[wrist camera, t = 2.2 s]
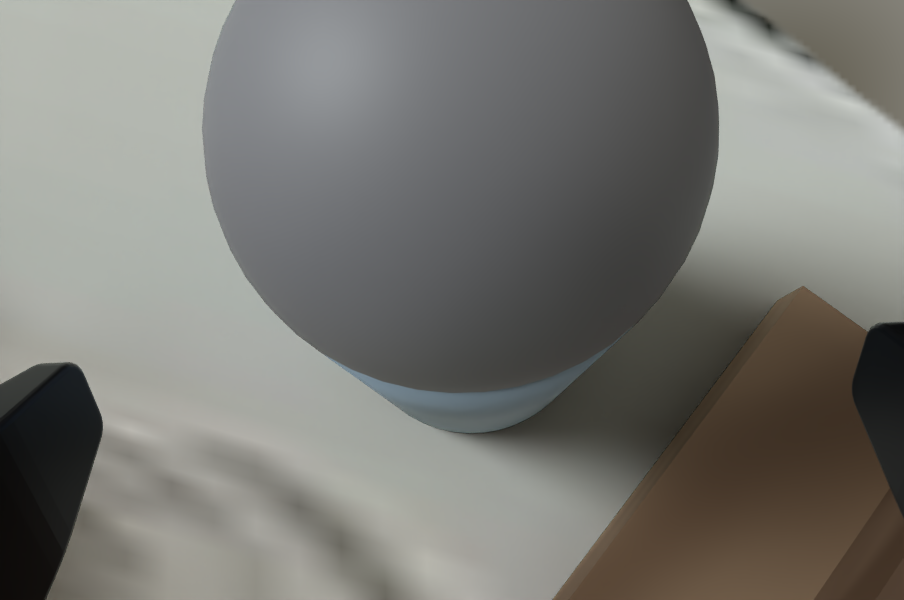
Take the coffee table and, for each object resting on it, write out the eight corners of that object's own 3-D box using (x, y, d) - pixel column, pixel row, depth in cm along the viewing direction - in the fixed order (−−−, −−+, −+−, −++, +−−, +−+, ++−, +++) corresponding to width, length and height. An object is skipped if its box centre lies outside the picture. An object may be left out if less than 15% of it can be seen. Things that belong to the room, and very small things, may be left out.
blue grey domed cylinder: (601, 421, 18) (905, 308, 5) (364, 444, 18) (79, 390, 5) (570, 196, 19) (745, -330, 6) (349, 219, 19) (97, -255, 7)
